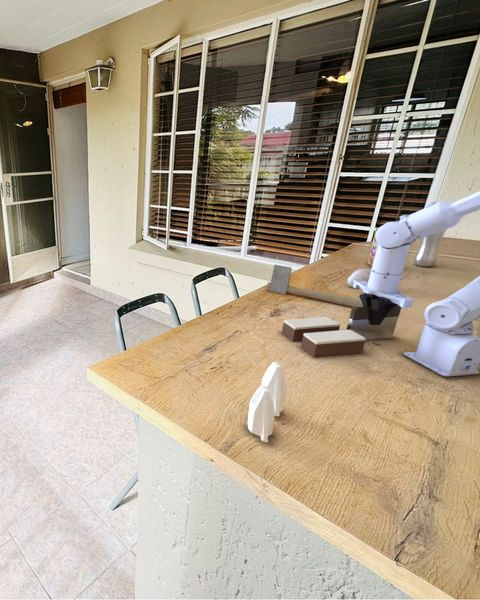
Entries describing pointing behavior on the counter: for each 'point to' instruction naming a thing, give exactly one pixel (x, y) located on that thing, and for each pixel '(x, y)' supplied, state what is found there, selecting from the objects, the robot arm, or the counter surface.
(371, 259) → the candy box
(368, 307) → the wide flat blade
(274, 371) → the shaker set
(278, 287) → the long-handled mallet
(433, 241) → the silver bottle
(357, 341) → the cake near half
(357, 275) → the white rounded oblong piece
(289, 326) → the cake far half
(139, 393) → the counter surface
